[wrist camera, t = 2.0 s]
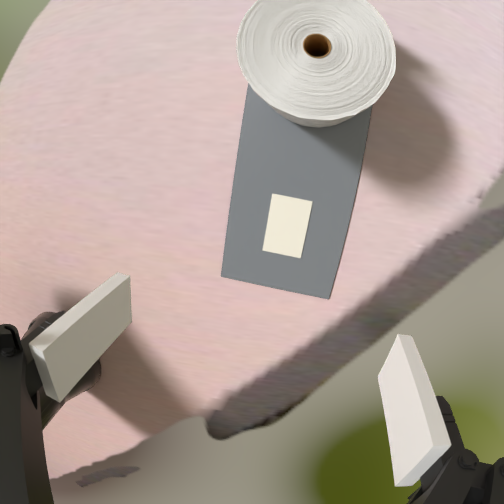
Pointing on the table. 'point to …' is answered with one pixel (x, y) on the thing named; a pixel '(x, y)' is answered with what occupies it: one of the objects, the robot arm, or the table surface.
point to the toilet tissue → (316, 57)
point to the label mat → (291, 199)
